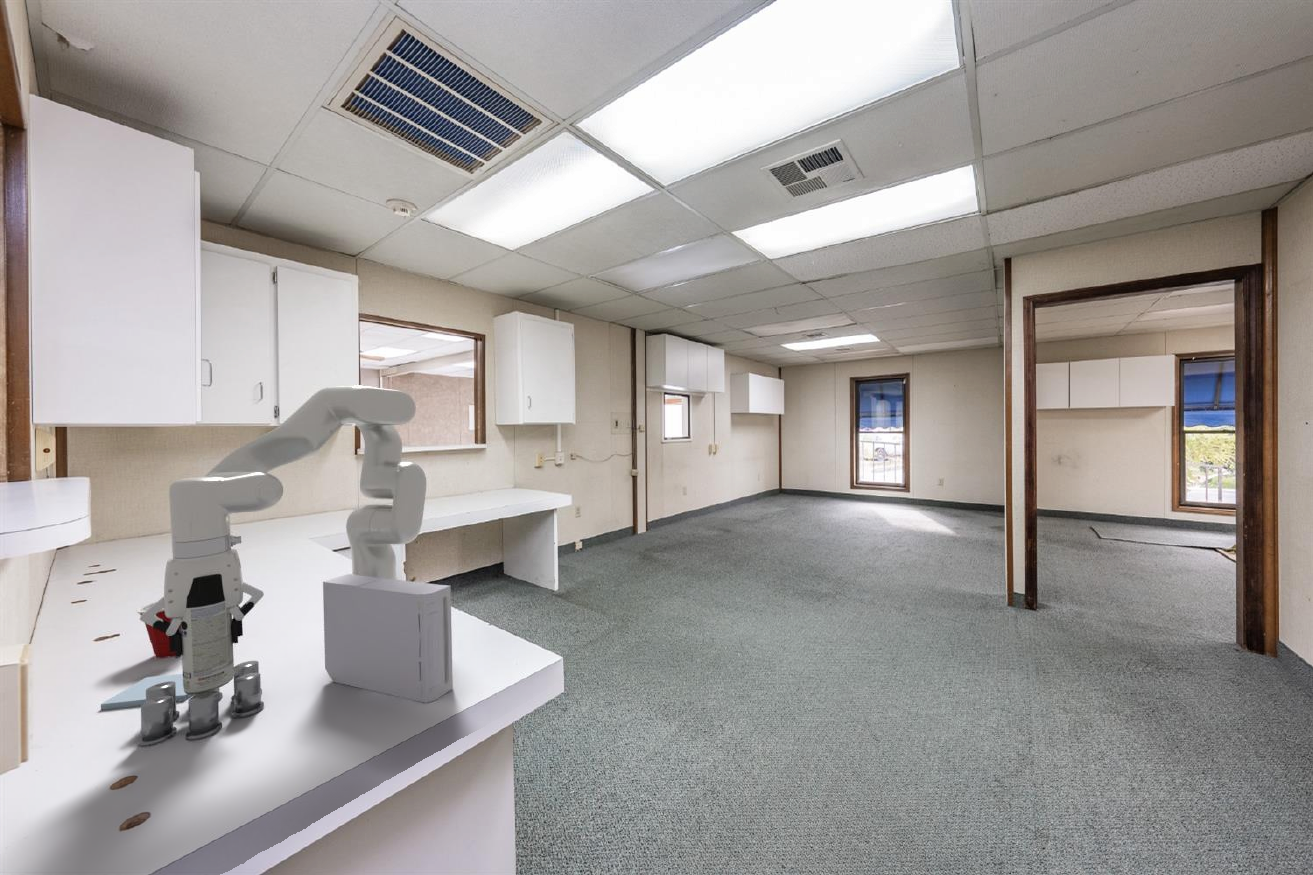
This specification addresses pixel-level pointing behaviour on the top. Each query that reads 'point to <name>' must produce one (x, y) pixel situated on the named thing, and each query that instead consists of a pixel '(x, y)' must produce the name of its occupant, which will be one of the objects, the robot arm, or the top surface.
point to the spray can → (206, 637)
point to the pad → (138, 692)
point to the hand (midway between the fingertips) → (208, 646)
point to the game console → (389, 636)
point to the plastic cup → (158, 634)
